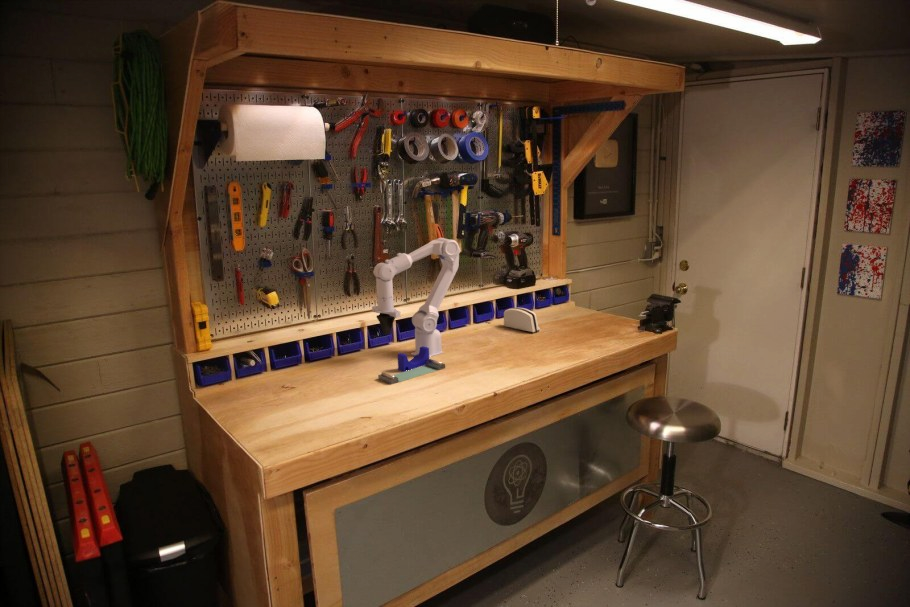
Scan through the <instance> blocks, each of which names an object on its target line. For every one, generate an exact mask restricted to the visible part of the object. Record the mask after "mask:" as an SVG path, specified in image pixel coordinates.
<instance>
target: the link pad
mask: <svg viewBox="0 0 910 607" xmlns="http://www.w3.org/2000/svg"><path fill="white" fill-rule="evenodd" d="M437 371H438V370H436V369H434V368H431V367H428V366H426V365H423V366H420V367H417V368H414V369H412V370H409V371H405V372H403V371H401V372H399V373H396V374H391V375H392V376H395V377H397V378H398V383H399V382H400V383H401V382H404V381H407V380H410V379H414V378H417V377H421V376H424V375H426V374H430V373H434V372H437Z"/></svg>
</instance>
